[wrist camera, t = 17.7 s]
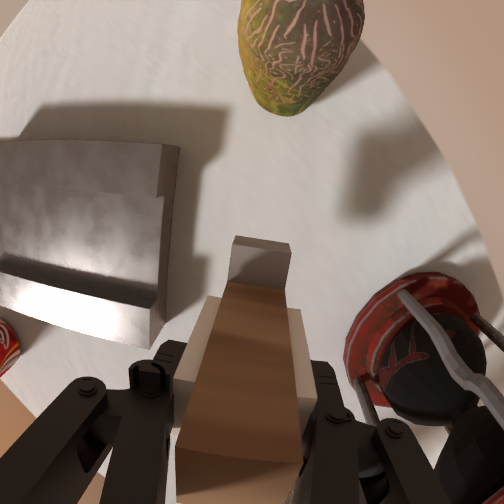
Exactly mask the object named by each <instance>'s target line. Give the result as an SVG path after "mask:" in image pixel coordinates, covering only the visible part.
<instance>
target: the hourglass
mask: <svg viewBox="0 0 504 504" xmlns="http://www.w3.org/2000/svg"><path fill="white" fill-rule="evenodd" d="M480 330H481V331H482V332H483V333H484V334H485V335H486V336H487V337H488V338H489V339H491V340H492V341H493V342H494V343H495V344H496V345H497V346H498V347H499V348H500V349H501V350H502V351H503V352H504V336H503V335H502V334H501V333H500V332H499V331H497V330H496V329H495V328H494V327H493V326H492V325H490V324H489V323H488V322H487V321H486V320H485V319H483V318H482V317H481V316H480V312H479V309H478V306H477V303H476V301H475V298H474V296H473V295H472V294H471V292H470V291H469V290H468V289H467V288H466V287H465V286H464V285H463V284H462V283H461V282H459V281H458V280H456V279H455V278H452V277H449V276H447V275H444V274H442V273H439V272H426V273H415V274H412V275H410V276H407V277H404V278H401V279H399V280H396V281H394V282H392V283H391V284H390V285H388V286H387V287H385V288H384V289H383V290H381V291H380V292H378V293H377V294H376V295H374V296H373V297H372V298H371V299H370V301H369V302H368V303H367V304H366V305H365V306H364V308H363V309H362V310H361V311H360V312H359V314H358V315H357V316H356V318H355V320H354V322H353V324H352V326H351V329H350V331H349V333H348V335H347V337H346V342H345V349H344V356H343V360H344V364H345V368H346V373H347V377H348V380H349V383H350V385H351V386H352V387H353V389H354V390H355V391H356V393H357V396H358V399H359V402H360V405H361V408H362V411H363V414H364V417H365V420H366V423H367V424H369V425H373V426H377V425H378V423H379V422H380V420H379V418H378V415H377V412H376V410H375V407H374V405H375V406H382V407H390V408H393V410H394V411H395V413H396V414H397V415H399V416H401V417H402V418H404V419H406V420H408V421H410V422H412V423H414V424H418V425H425V426H444V427H445V429H446V431H447V432H448V434H449V437H448V439H447V441H446V443H445V445H444V447H443V449H442V451H441V453H440V456H439V458H438V461H437V463H436V466H435V468H434V472H435V474H436V476H437V478H438V479H439V481H440V483H441V485H442V487H443V489H444V491H445V493H446V495H447V496H448V498H449V500H450V502H451V504H504V396H503V395H502V394H501V393H500V391H499V390H498V389H497V388H496V387H495V385H494V384H493V383H492V382H491V381H490V380H489V379H488V378H487V377H485V374H486V364H487V362H486V356H485V351H484V347H483V344H482V341H481V339H480V338H479V337H478V335H479V332H480ZM479 399H481V400H482V401H483V403H484V404H485V406H480V407H478V406H477V404H478V401H479Z"/></svg>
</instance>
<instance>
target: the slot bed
mask: <svg viewBox="0 0 504 504" xmlns="http://www.w3.org/2000/svg"><path fill="white" fill-rule="evenodd" d="M179 151H180V147H176V146H170V145H165V144H154V143H139V142H121V141H96V140H23V141H0V306H3V307H6V308H8V309H11V310H14V311H17V312H19V313H22V314H25V315H28V316H31V317H34V318H37V319H40V320H43V321H46V322H49V323H52V324H55V325H59V326H62V327H65V328H68V329H72V330H75V331H79V332H82V333H86V334H89V335H93V336H96V337H100V338H104V339H108V340H111V341H115V342H119V343H123V344H127V345H131V346H136V347H140V348H144V349H149V350H150V348H151V346H152V345H153V343H154V341H155V340H156V338H157V336H158V335H159V333H160V331H161V330H162V328H163V326H164V325H165V312H166V291H167V273H168V258H169V245H170V233H171V222H172V211H173V201H174V192H175V183H176V174H177V166H178V158H179Z"/></svg>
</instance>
